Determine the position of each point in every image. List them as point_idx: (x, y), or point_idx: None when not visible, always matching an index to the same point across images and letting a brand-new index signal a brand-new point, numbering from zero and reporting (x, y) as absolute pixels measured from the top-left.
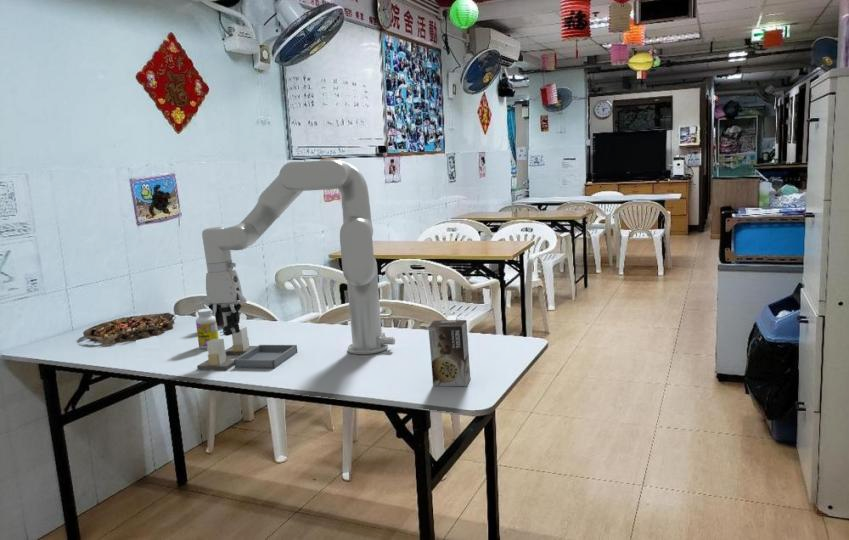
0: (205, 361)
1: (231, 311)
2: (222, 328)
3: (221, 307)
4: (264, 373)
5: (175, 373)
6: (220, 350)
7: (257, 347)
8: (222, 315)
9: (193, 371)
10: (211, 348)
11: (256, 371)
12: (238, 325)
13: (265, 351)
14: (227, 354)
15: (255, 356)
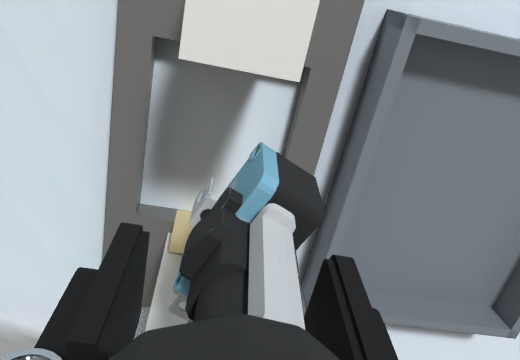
0: (106, 239)
1: None
2: (175, 288)
3: None
4: (452, 353)
5: (15, 321)
6: None
7: (397, 81)
8: (123, 314)
9: None
10: None
11: (415, 330)
12: (321, 211)
13: (432, 47)
14: (155, 40)
15: (381, 150)
